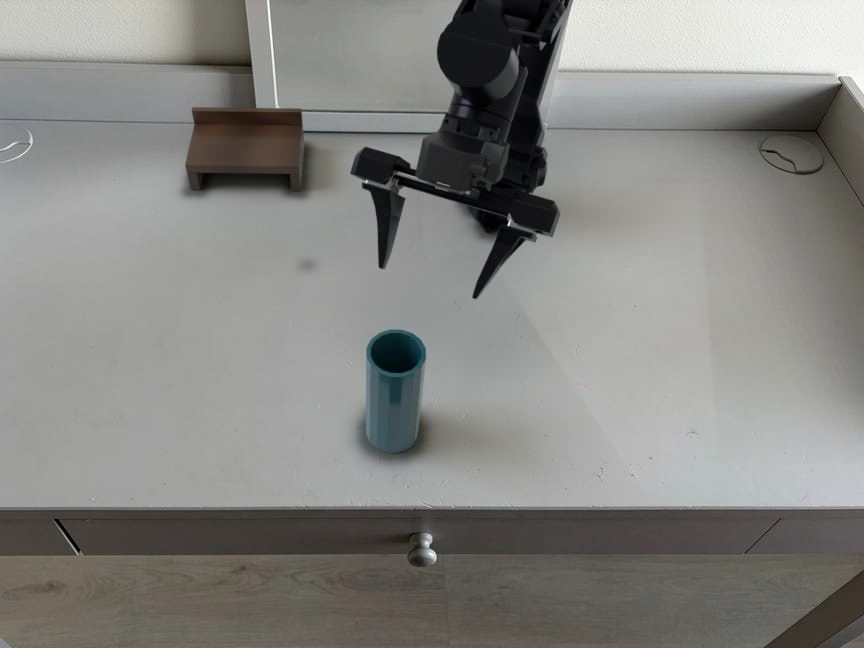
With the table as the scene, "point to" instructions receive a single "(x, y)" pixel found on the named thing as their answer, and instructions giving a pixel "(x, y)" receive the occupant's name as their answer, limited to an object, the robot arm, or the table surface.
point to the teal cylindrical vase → (394, 389)
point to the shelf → (246, 143)
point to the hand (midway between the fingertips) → (427, 283)
